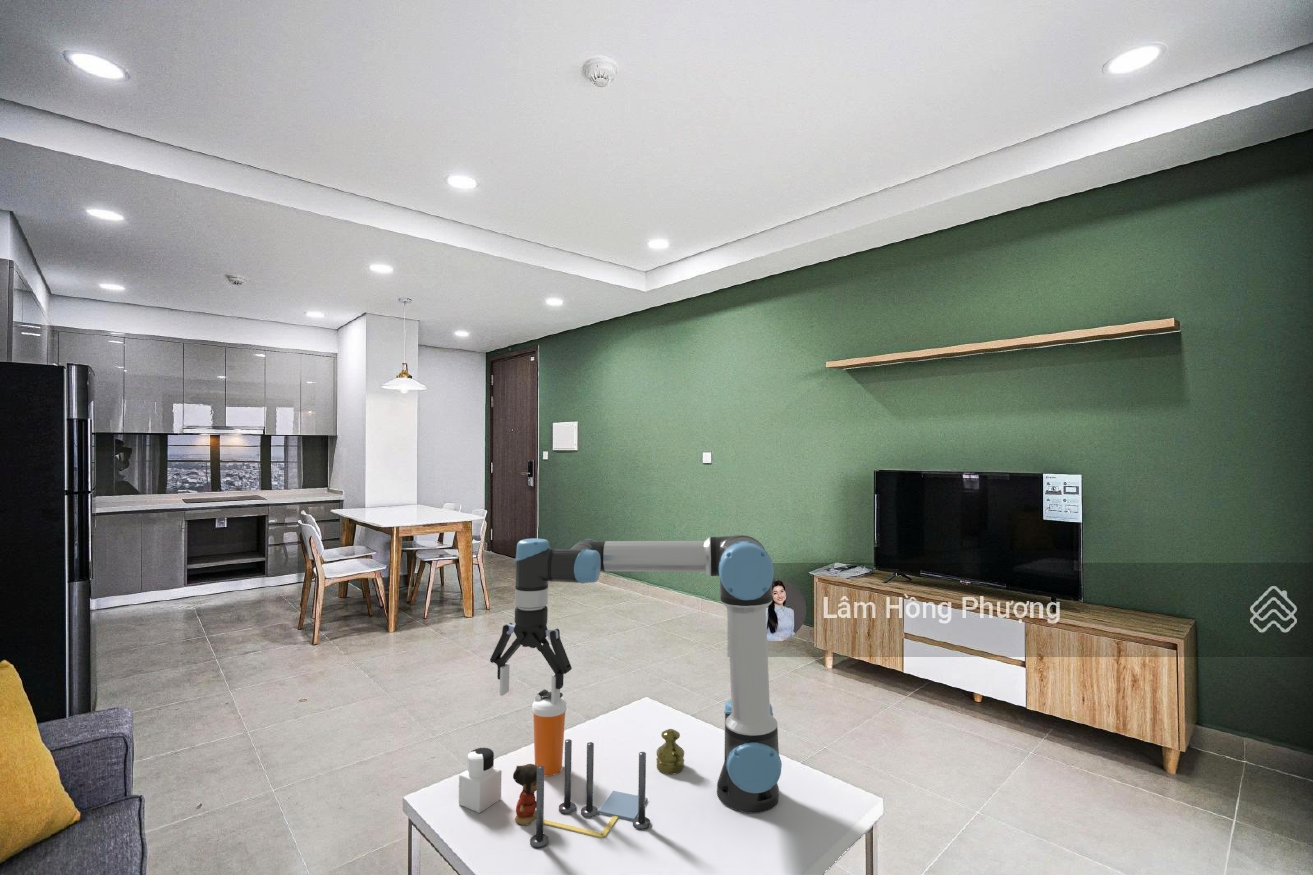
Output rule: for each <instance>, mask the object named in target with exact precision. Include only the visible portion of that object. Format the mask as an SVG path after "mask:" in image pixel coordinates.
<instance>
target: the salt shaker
mask: <svg viewBox="0 0 1313 875" xmlns="http://www.w3.org/2000/svg"><path fill="white" fill-rule="evenodd" d="M660 735H661V736H660V737H661V738H662V740H663V739H664V741H665V742H664V743H663V744H662V745H661V746H659V747H658V748H657V749H656V756H657V757H656V769H657V771H659V772H661V773H662V774H666V775H677V774H679V773H681V772H682V771H684V768H685V757H684V756H685V750H684V749H683V748H682V747H681V746H680V745H679V744H678V743H676V741H677V740H678V739H679V738H680V737H681V734H680V732H679V731H677V730H675V729H674V728H668V729H666V730H663V731H662V732H661V734H660Z"/></svg>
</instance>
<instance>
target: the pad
mask: <svg viewBox="0 0 1313 875" xmlns="http://www.w3.org/2000/svg"><path fill="white" fill-rule="evenodd" d="M647 801H648V797H646V796H645V804H646V803H647ZM598 814H599V815H604V816H609V817H611V818H612V817H613V816H618V819H622V820H626V821H631V822H633V820H634V819H635V818H637V817H638V795H636V794H631V793H625V792H621V791H617V790H612V791H611V793H610V794H609V796H608V797H607V798H606V799H605V801H604V802H603V804H601V806H600V808H598Z"/></svg>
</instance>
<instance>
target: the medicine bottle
mask: <svg viewBox="0 0 1313 875" xmlns="http://www.w3.org/2000/svg"><path fill="white" fill-rule="evenodd" d="M494 754H495V753H494V750H492V749H491V748H488V747H478V748H475V749H473V750H471V751H470V752H469V753H468V754H467V770H465V771H464V772H461V773H460V774H459V777H458V781H459V782H458V804H459V805H460V806H463V807H465V808H466V809H468V810H471V811H473V812H476V813H478V814H481V812H484V811H485V810H486V809H488V808H490V807H491V806H493V805H494V804H495V803H497V802H499V801H500V800H501V799H502V769H499V768H497V767H494V766H495V765H494V762H495V761H494V760H495V758H494V756H495V755H494Z"/></svg>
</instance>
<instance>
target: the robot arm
mask: <svg viewBox="0 0 1313 875" xmlns="http://www.w3.org/2000/svg"><path fill="white" fill-rule="evenodd" d="M515 551H516V553H515V559H514V560H515V587H514V588H515V589H514V590H515V591H514V606H515V608H514V624H515V625H514V624H513V623H512V622H508V623H507V624H504V625H503V626H502V632H501V635H500V638H499V639H498V642H497V643H496V645H495V648H494V651H493V652H492V655H491V656H490V659H489V661H490V663H491V664H496V666H497V672H496V673H497V676H496V677H497V680H499V696H501V697H503V696H504V695H506V694H507V693H509V692H510V663H508V661H509V659H510V658H511V657H512V656H513V655H514V654H515V653H516V651H518V649H519V648H520V647H523V648H527V647H528V648H531V649H535V648H536V649H537V651H539V652H540V653H541V655H542V657H543V658H544V659H545V661H546V662H547V664H548V666H549V667H550V668H551V670H552V671H553V674H552V675H551V691H550V692H551V704H552V705H555V704H556V703H557V702H558V701H560V692H561V689H562V688H563V687H564V677H565V676H564V675H566V674H567V673H569V672H570V671H572V669H573V667H572V665H571V662H570V659H569V657H568V655H567V652H566V650H565V647H564V645H563V642H562V640H561V633H560V629H559V628H555V629H548V626H547V625H548V617H549V616H548V613H549V611H548V607H547V605H548V601H549V596H548V595H549V582H550V583H552V582H556V583H557V582H558V583H575V584H576V583H578V584H579V583H580V584H589V583H592V584H593V583H596V582H597V581H598V580H599V578H600V574H601V572H642V573H643V572H644V573H645V572H654V573H655V572H656V573H657V572H661V573H662V572H663V573H664V572H667V573H668V572H670V573H673V572H676V573H677V572H681V573H683V572H686V573H687V572H689V573H691V572H692V573H693V572H694V573H695V572H696V573H699V572H700V573H706V574H707V575H708V576H709V577H719V596H720V603H721V604H722V605H723V606H724V607H726V609H727V624H728V625H727V627H728V650H729V651H728V653H729V654H728V655H729V678H730V679H729V680H730V699H729V700H728V701H727V702H726V703H725V707H724V712H723V713H724V759H723V760H724V762H723V764H722V768H721V771H720V773H719V776H718V779H717V783H716V795H717V798H718V799H719V801H720V802H721V803H722V804H723V805H725V806H726V807H728V809H729V808H730V809H732V810H735V811H737V812H741V813H742V812H743V813H749V814H750V813H751V814H757V813H763V812H767V811H771V810H773V809H774V808H775V807H776V806H777V805H778V803H779V801H780V789H779V788H780V787H779V783H778V782H779V779H780V777H781V774H782V766H783V764H782V760H781V757H780V752H779V730H778V721H777V719H776V718H775V717H774V713H773V712H774V711H773V707H772V704H771V703H770V684H769V683H770V679H769V677H770V676H769V657H768V656H769V655H768V654H769V651H768V631H767V629H768V628H767V608H768V607H769V606H770V605H771V604H772V603H773V586H772V585H773V580H774V574H775V571H774V564H773V560H772V558H771V556H770V554H769V553H768V551H766V549H765V547H764V545H763V544H762V543H761V542H760V541H759V540H757V539H756V538H754V537H752V536H749V535H744V534H741V535H739V534H738V535H736V534H735V535H727V536H725V535H724V536H709V537H707V538H706V539H705V540H605V541H604V540H602V541H601V540H594V539H592V538H584V539H582V540H580V541H578V542H576V543H575V545H573V546H572V547H571V548H570V549H569V548H567V549H566V548H553V547H551V546H550V542H549V541H548V539H545V538H536V537H533V538H525V539H521V540H519V541H518V542H517V545H516V550H515ZM512 634H514V635H515V637H516V638H515V639H514V641H512V643H511V645H510V646H509V647H508V649H507V650H505V649H506V646H507V644H508V642H509V640H510V638H511V636H512ZM547 637H548V639H547ZM548 640H549V641H550V642H549V641H548ZM550 645H551V646H550ZM504 651H505V652H504Z"/></svg>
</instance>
